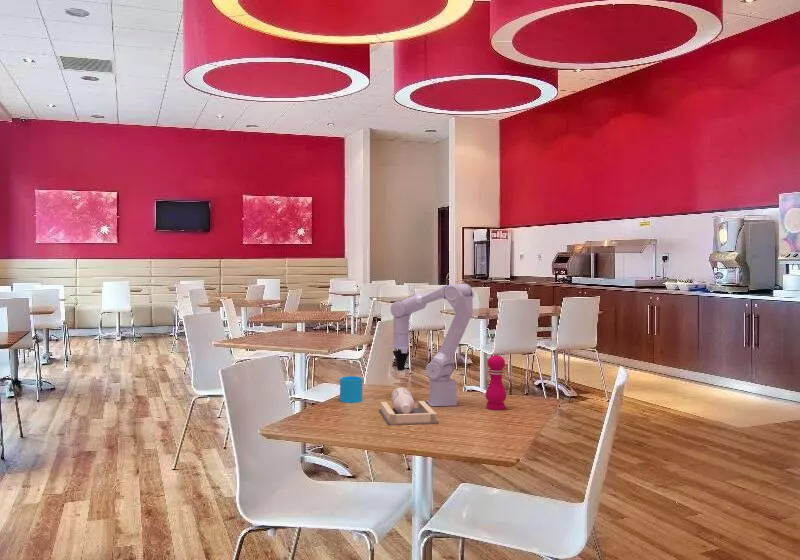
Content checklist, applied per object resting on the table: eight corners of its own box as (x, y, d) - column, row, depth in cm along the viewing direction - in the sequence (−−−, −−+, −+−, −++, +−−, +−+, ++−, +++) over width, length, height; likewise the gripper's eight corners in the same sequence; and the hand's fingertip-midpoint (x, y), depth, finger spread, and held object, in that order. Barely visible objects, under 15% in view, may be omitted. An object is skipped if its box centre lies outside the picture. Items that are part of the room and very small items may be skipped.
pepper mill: (505, 406, 241) (506, 349, 241) (506, 410, 234) (507, 352, 234) (484, 405, 242) (485, 349, 242) (485, 410, 235) (486, 352, 234)
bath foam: (393, 408, 235) (397, 422, 216) (389, 389, 235) (393, 401, 215) (412, 404, 236) (418, 418, 216) (409, 385, 236) (414, 396, 216)
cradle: (425, 409, 235) (425, 400, 235) (438, 423, 215) (438, 413, 215) (378, 410, 232) (379, 402, 232) (388, 425, 212) (388, 415, 212)
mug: (359, 403, 244) (360, 380, 244) (337, 402, 245) (337, 379, 245) (366, 396, 256) (366, 375, 256) (344, 395, 257) (345, 374, 257)
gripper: (387, 331, 259) (387, 367, 260) (393, 335, 245) (393, 373, 245) (405, 331, 261) (405, 366, 261) (413, 335, 246) (412, 373, 247)
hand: (400, 370), depth 253 cm, fingers closed
